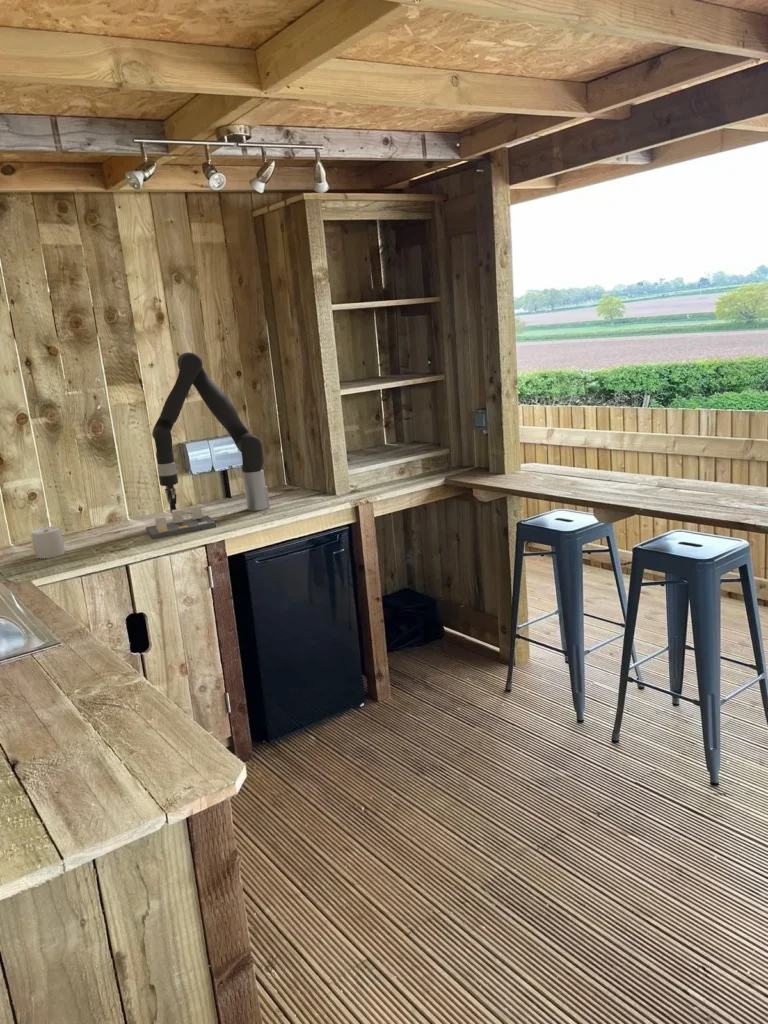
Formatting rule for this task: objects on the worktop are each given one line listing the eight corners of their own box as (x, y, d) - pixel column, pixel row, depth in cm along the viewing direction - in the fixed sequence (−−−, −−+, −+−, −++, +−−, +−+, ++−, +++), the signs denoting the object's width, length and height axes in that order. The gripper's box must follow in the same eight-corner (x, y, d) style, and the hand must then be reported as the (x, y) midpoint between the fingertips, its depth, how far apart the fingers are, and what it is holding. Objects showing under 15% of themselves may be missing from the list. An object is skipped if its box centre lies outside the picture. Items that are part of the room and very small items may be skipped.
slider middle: (182, 520, 328) (180, 508, 327) (183, 521, 326) (181, 510, 324) (173, 521, 327) (171, 510, 325) (174, 523, 324) (172, 511, 323)
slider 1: (165, 527, 319) (163, 515, 318) (167, 529, 316) (165, 517, 315) (156, 529, 317) (154, 517, 316) (158, 530, 315) (156, 519, 313)
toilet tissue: (47, 560, 297) (41, 535, 294) (28, 557, 303) (22, 532, 300) (71, 551, 305) (66, 527, 303) (51, 549, 312) (46, 525, 309)
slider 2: (200, 516, 331) (199, 505, 330) (202, 518, 329) (200, 506, 327) (192, 518, 330) (190, 506, 329) (193, 519, 327) (192, 508, 326)
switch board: (208, 519, 335) (207, 514, 334) (216, 526, 322) (215, 521, 322) (146, 531, 324) (145, 526, 324) (152, 539, 312) (150, 533, 311)
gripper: (179, 474, 323) (185, 514, 327) (173, 469, 335) (179, 508, 339) (161, 477, 320) (167, 517, 324) (155, 472, 332) (162, 511, 336)
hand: (173, 513), depth 332 cm, fingers closed
